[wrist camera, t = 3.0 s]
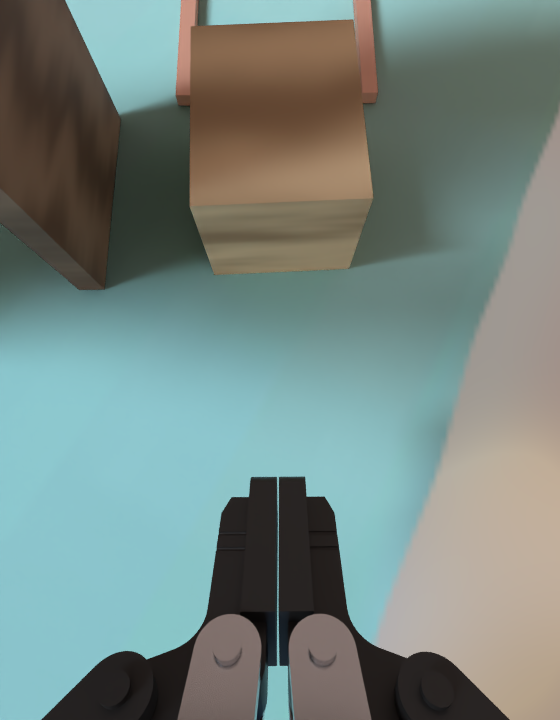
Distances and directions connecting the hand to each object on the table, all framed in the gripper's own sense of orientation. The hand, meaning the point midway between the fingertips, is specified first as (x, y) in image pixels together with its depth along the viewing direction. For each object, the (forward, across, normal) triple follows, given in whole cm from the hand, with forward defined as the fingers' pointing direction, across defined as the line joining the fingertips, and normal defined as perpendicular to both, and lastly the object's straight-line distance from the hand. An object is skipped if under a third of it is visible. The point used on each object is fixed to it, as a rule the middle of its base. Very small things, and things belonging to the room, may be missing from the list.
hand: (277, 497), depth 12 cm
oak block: (+20, 0, -4) cm, 20 cm away
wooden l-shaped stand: (+19, +3, -5) cm, 20 cm away
